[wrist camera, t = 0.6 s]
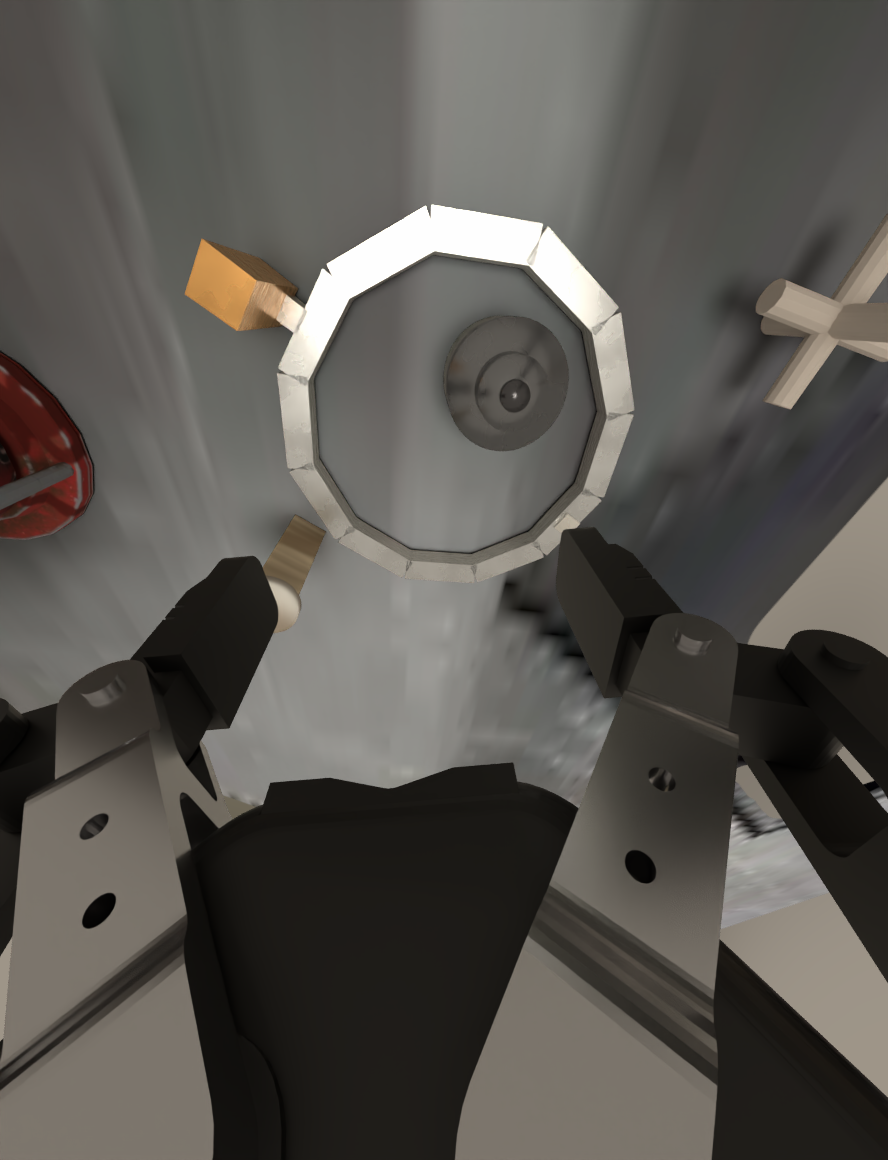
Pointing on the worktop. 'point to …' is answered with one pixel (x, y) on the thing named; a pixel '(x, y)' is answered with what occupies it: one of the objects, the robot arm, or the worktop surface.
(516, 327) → the cover
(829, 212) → the worktop surface
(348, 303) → the ring
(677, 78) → the worktop surface
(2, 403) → the hourglass
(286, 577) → the gauge stand
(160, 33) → the worktop surface
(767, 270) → the worktop surface
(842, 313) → the pipe connector
